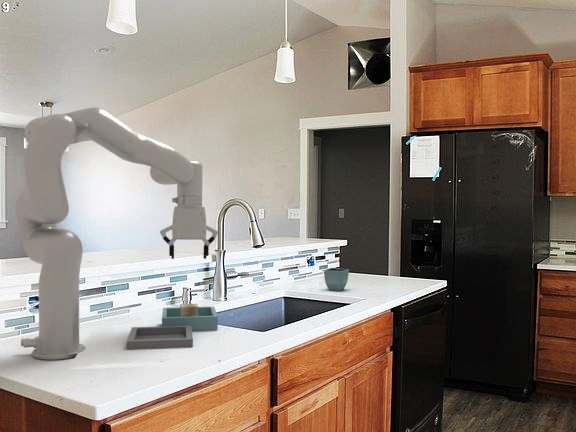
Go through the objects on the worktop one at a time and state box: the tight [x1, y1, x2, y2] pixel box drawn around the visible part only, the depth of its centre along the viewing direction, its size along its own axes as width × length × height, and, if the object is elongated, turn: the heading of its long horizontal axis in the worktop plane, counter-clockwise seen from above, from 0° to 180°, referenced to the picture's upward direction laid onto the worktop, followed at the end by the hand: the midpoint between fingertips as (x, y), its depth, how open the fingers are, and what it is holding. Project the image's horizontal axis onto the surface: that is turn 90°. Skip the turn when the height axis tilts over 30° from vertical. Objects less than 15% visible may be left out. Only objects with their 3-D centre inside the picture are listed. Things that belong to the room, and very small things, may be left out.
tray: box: [161, 306, 219, 332], centre depth 177 cm, size 16×16×5 cm
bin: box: [126, 325, 194, 351], centre depth 158 cm, size 17×17×3 cm
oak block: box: [180, 303, 199, 317], centre depth 177 cm, size 5×5×6 cm
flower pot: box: [323, 267, 350, 292], centre depth 254 cm, size 9×9×9 cm
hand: (188, 258), depth 176 cm, fingers open, 9 cm apart
